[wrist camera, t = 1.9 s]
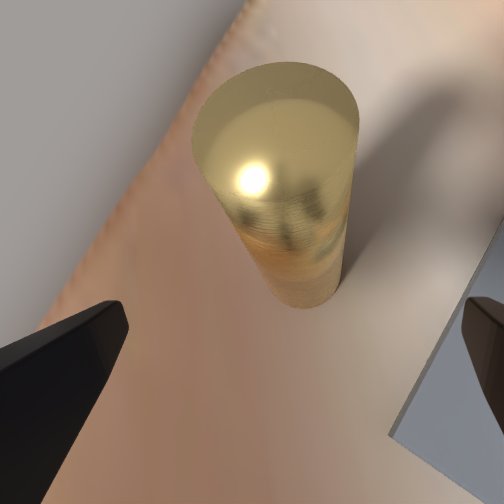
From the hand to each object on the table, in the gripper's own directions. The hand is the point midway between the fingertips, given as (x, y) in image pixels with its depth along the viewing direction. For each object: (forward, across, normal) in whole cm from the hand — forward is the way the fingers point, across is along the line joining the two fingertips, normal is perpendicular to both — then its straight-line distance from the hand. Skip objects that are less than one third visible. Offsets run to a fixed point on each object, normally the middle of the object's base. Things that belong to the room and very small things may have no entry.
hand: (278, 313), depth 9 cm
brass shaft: (+11, 0, +5) cm, 12 cm away
